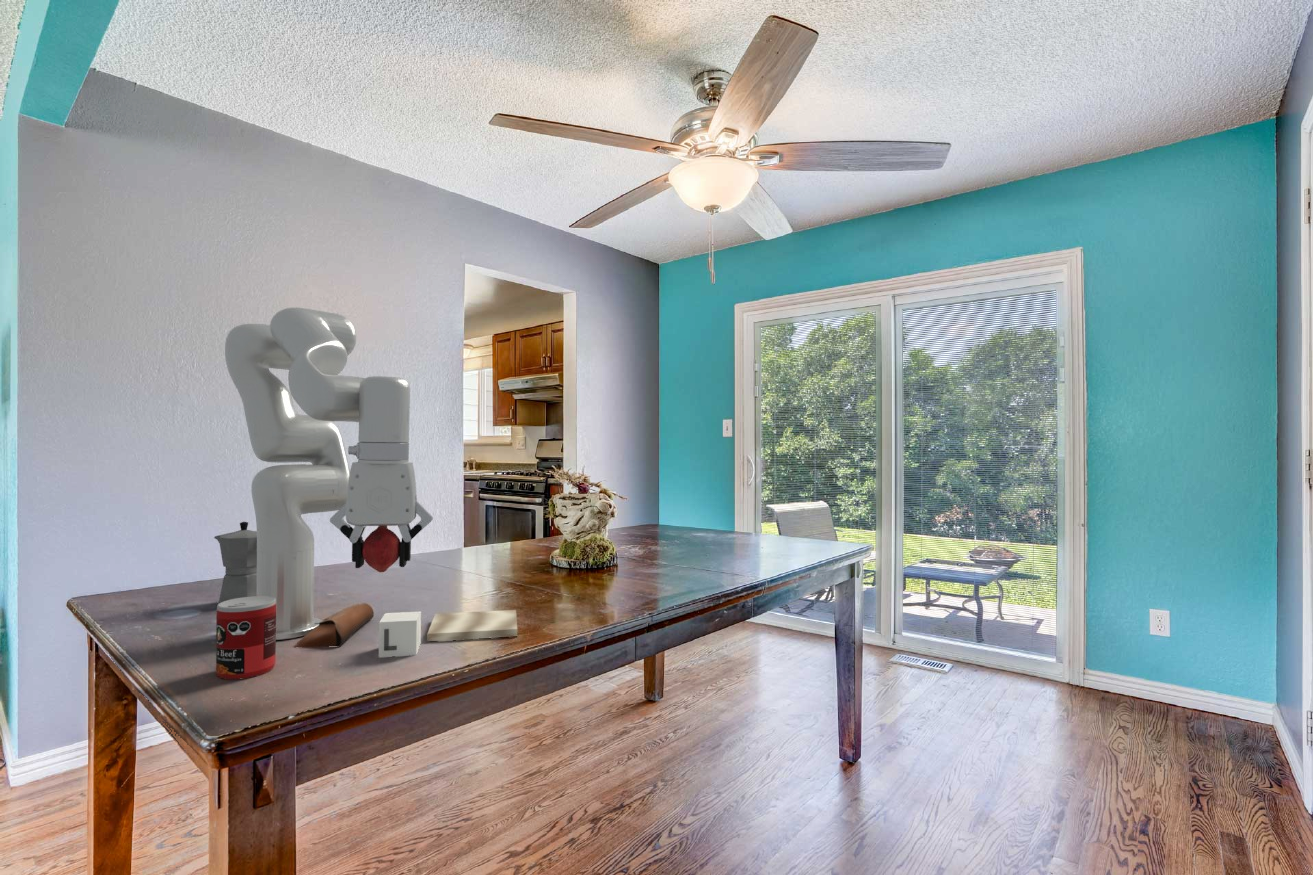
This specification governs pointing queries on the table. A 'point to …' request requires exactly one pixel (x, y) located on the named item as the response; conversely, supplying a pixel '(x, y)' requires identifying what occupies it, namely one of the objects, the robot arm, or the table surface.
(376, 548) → the onion
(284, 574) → the robot arm
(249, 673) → the canned food
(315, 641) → the sunglasses case
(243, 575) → the coffeepot
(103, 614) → the table surface
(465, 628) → the birch board
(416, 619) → the letter cube
